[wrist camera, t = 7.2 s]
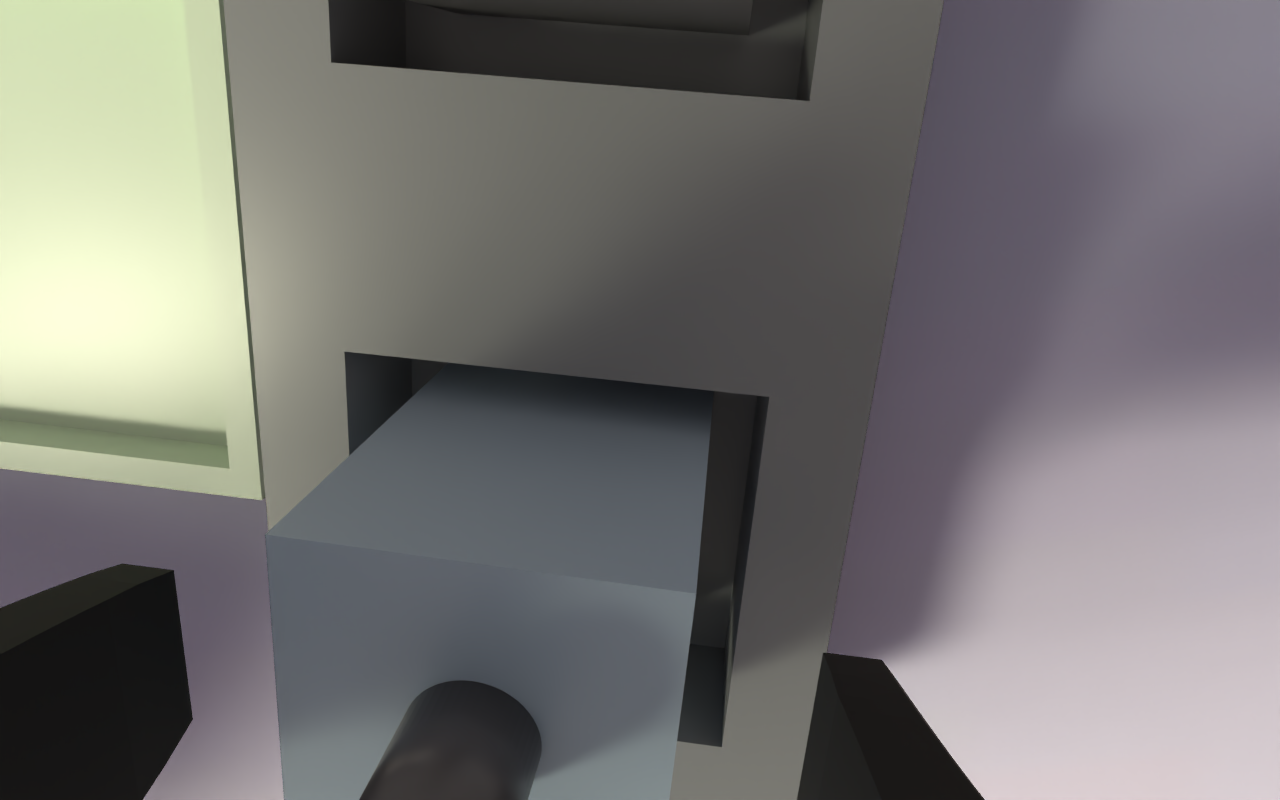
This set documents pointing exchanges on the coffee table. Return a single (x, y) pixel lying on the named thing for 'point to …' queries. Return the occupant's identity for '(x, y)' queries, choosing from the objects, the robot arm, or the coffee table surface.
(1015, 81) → the coffee table surface
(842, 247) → the power strip
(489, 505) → the plug
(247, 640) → the coffee table surface
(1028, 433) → the coffee table surface
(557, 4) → the twin plug
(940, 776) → the robot arm
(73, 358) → the tray
